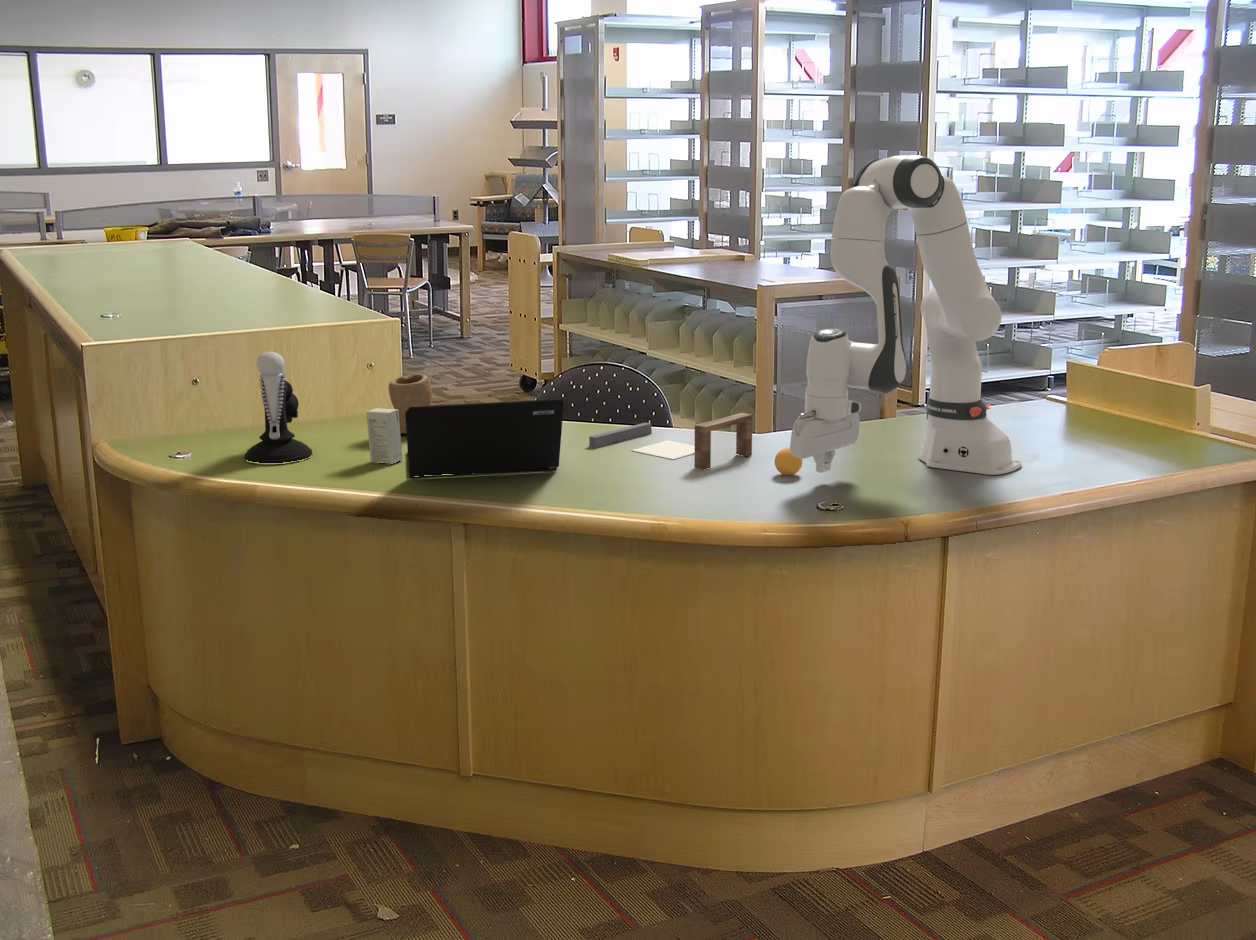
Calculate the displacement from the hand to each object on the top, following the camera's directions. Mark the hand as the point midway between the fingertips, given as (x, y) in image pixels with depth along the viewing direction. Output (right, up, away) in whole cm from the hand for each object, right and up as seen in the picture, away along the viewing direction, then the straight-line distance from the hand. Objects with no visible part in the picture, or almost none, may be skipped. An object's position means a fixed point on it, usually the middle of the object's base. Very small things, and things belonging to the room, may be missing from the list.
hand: (823, 471), depth 268 cm
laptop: (-74, 0, +15) cm, 76 cm away
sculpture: (-123, +4, +30) cm, 127 cm away
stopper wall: (-43, +8, +40) cm, 59 cm away
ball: (-7, +2, +6) cm, 9 cm away
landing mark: (-31, +5, +29) cm, 43 cm away
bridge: (-20, +2, +19) cm, 27 cm away
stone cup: (-94, +9, +49) cm, 106 cm away
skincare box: (-97, +2, +21) cm, 99 cm away
